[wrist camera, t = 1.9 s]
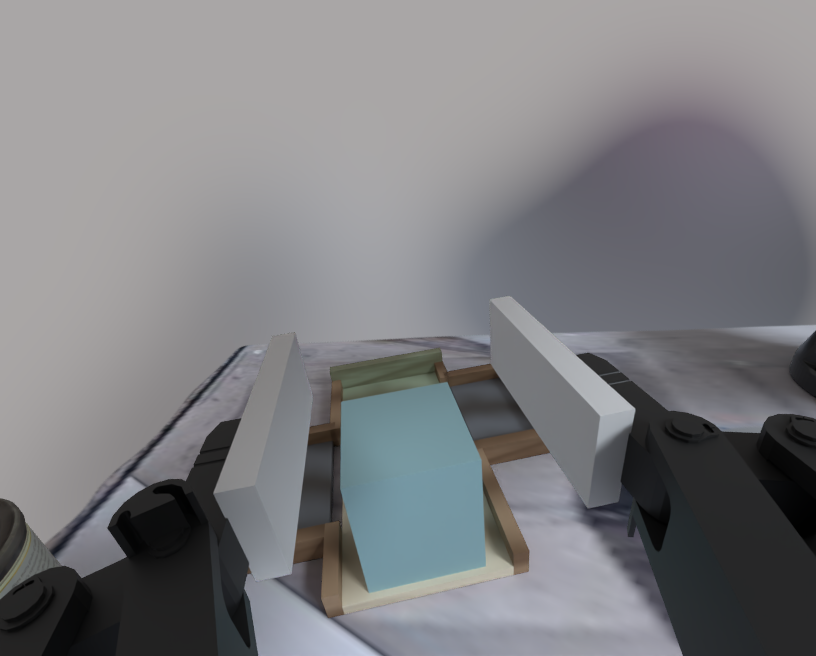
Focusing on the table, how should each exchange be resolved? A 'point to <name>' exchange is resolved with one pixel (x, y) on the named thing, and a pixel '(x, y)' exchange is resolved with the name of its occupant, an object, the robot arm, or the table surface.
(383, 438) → the teal block
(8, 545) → the coffee can
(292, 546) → the robot arm
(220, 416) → the table surface
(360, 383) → the trap lane
